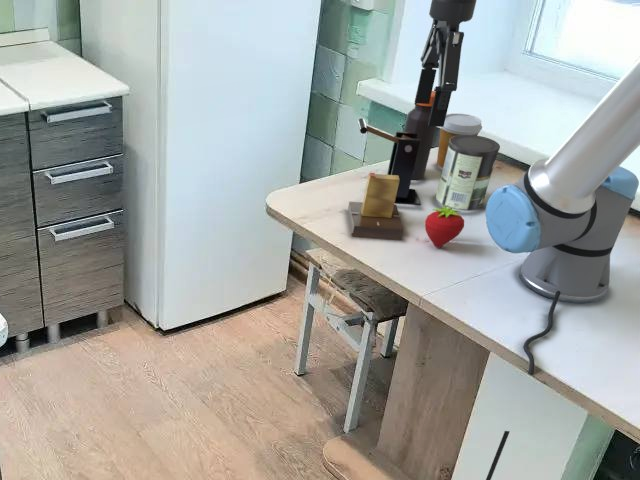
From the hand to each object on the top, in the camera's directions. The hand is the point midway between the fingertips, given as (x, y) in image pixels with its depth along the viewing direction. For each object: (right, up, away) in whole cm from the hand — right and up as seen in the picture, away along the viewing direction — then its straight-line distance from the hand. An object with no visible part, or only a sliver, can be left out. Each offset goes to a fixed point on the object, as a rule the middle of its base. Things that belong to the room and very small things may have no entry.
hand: (428, 114), depth 155 cm
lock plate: (-6, -19, +15) cm, 25 cm away
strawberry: (+5, -25, +8) cm, 26 cm away
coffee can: (+15, -12, +24) cm, 31 cm away
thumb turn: (-6, -17, +13) cm, 22 cm away
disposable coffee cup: (+20, 0, +41) cm, 45 cm away
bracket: (+1, -11, +25) cm, 28 cm away
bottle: (+8, -4, +35) cm, 36 cm away
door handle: (-3, 0, +18) cm, 18 cm away
